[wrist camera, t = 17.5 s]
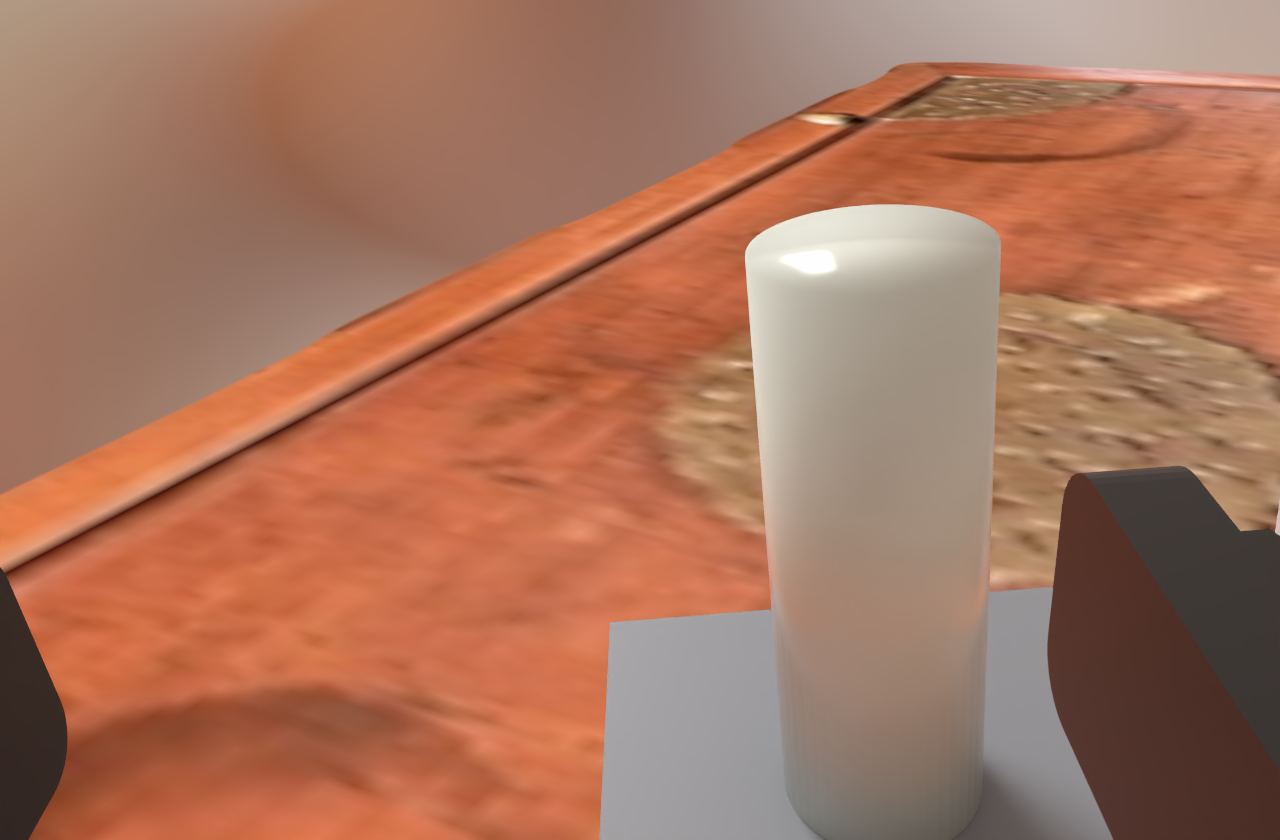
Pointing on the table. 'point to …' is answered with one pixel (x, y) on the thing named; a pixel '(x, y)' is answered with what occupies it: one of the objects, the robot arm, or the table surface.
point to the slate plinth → (752, 746)
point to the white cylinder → (878, 509)
